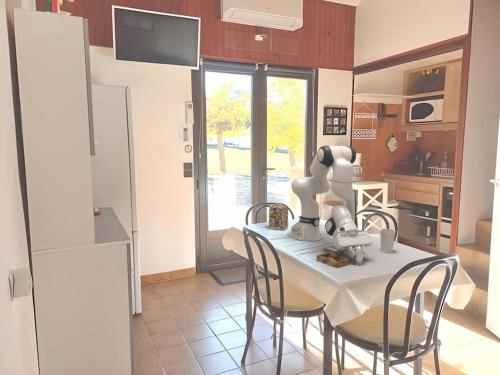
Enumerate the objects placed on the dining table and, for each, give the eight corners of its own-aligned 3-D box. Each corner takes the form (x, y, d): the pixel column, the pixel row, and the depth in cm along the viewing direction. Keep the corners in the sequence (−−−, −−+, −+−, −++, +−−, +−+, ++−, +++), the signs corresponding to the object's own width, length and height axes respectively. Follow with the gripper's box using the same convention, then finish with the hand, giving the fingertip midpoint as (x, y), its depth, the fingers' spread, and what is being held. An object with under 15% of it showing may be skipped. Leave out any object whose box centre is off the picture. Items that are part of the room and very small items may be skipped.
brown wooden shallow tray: (316, 260, 191) (316, 255, 191) (327, 257, 196) (327, 252, 196) (337, 267, 180) (337, 262, 180) (348, 264, 185) (348, 259, 185)
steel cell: (352, 263, 187) (353, 244, 186) (357, 262, 189) (358, 243, 188) (359, 265, 184) (360, 246, 183) (364, 264, 186) (364, 245, 185)
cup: (376, 251, 208) (377, 230, 207) (383, 248, 214) (384, 228, 212) (390, 254, 203) (391, 232, 201) (396, 251, 208) (398, 230, 207)
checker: (323, 252, 205) (323, 247, 205) (331, 250, 210) (332, 245, 209) (336, 256, 198) (336, 250, 198) (344, 254, 203) (344, 248, 202)
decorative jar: (284, 230, 254) (285, 204, 252) (268, 229, 258) (268, 203, 255) (288, 227, 265) (288, 202, 263) (272, 225, 269) (272, 201, 267)
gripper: (363, 232, 199) (373, 255, 191) (329, 235, 192) (339, 259, 184) (368, 226, 194) (379, 249, 186) (334, 229, 188) (344, 253, 180)
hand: (359, 254), depth 185 cm, fingers closed on steel cell, 4 cm apart
